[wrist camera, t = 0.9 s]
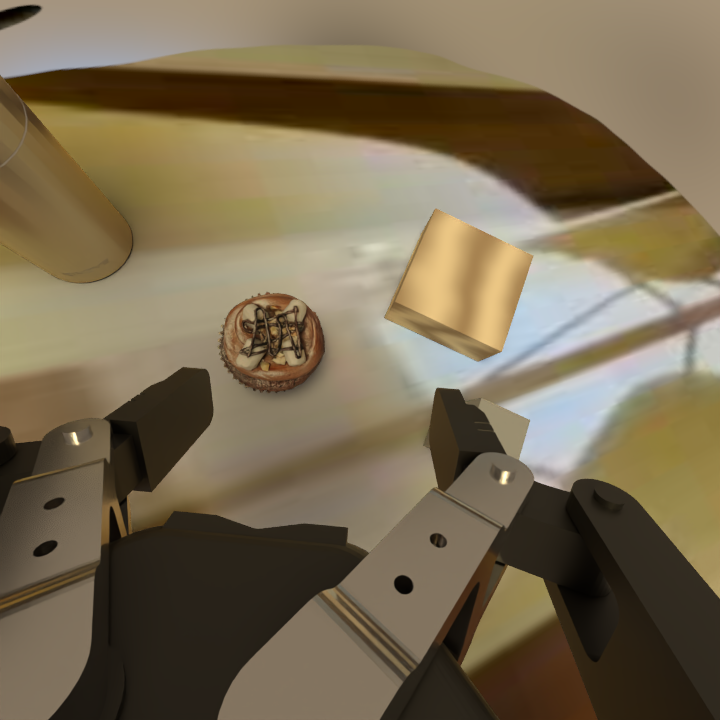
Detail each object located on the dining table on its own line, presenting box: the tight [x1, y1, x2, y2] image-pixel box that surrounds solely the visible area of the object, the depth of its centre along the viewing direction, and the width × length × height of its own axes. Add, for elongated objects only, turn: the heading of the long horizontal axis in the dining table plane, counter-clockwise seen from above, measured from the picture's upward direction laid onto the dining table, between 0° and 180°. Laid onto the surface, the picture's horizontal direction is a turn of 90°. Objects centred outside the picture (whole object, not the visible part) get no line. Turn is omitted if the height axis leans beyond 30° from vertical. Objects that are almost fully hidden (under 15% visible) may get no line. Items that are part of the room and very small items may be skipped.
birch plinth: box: [384, 209, 533, 361], centre depth 38 cm, size 12×12×5 cm
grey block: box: [423, 398, 530, 460], centre depth 32 cm, size 4×4×10 cm
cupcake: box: [218, 292, 325, 393], centre depth 32 cm, size 10×10×10 cm
